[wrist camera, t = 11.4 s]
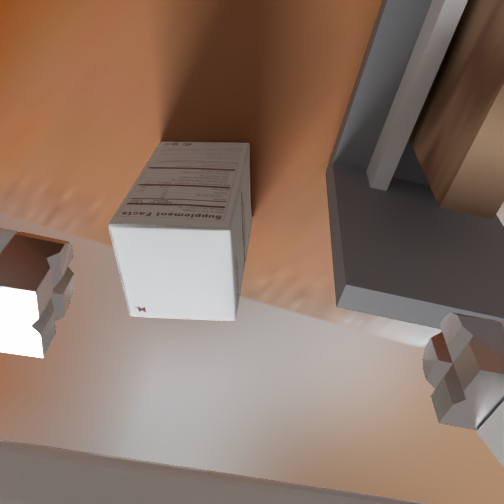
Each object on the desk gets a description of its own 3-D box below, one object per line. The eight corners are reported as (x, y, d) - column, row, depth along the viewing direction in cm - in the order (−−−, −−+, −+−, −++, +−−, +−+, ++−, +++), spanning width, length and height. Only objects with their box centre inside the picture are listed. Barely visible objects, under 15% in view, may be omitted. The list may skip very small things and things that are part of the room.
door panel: (447, 144, 34) (492, 219, 26) (406, 134, 33) (439, 207, 25) (542, -52, 26) (646, -34, 18) (491, -65, 26) (573, -53, 18)
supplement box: (254, 221, 41) (237, 325, 31) (169, 217, 41) (125, 319, 31) (253, 139, 36) (233, 230, 26) (158, 137, 37) (103, 225, 27)
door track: (470, 206, 38) (551, 352, 26) (325, 173, 37) (336, 307, 25) (667, -144, 25) (1030, -194, 12) (449, -203, 24) (602, -316, 12)
